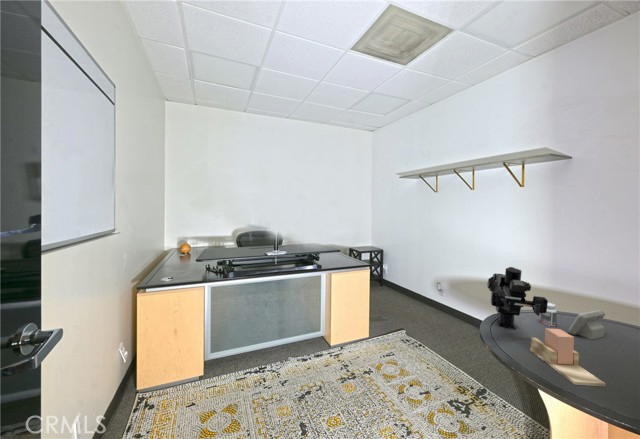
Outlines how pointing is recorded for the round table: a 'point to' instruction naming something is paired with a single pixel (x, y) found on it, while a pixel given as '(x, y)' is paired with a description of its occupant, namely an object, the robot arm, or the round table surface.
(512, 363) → the round table surface
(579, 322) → the digital clock
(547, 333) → the block
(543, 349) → the chute
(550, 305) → the pill bottle
